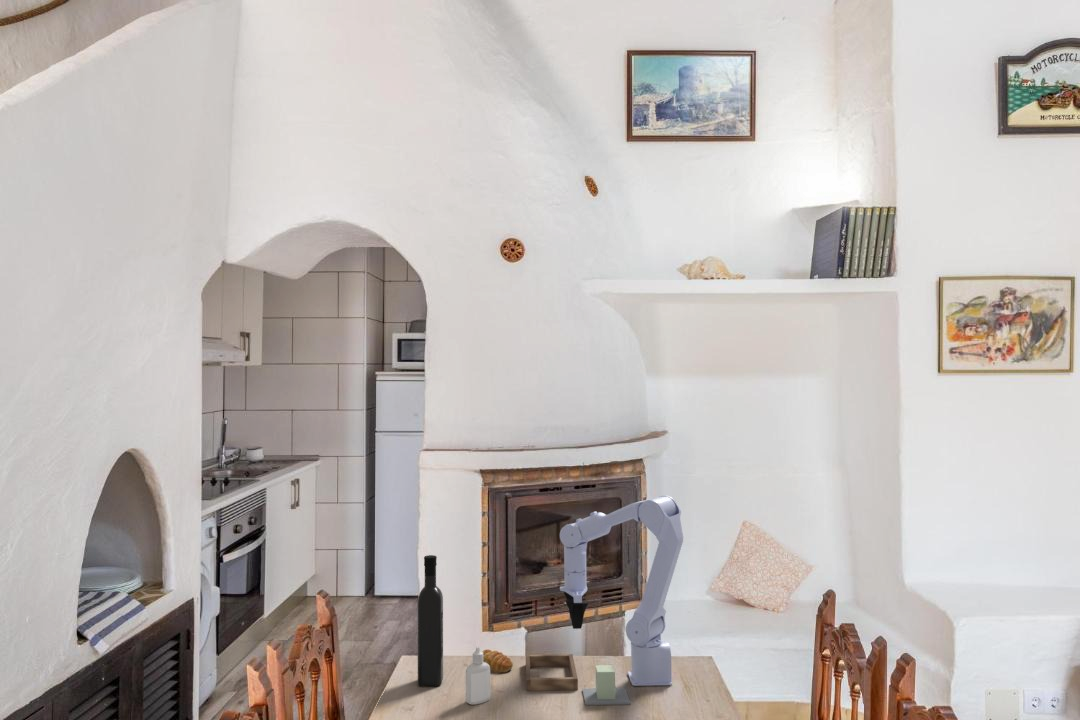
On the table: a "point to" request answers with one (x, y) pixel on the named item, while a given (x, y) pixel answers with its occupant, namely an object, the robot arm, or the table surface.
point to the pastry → (497, 661)
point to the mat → (592, 699)
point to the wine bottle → (430, 628)
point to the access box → (551, 683)
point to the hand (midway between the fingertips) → (575, 623)
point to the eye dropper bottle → (477, 680)
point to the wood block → (605, 682)
